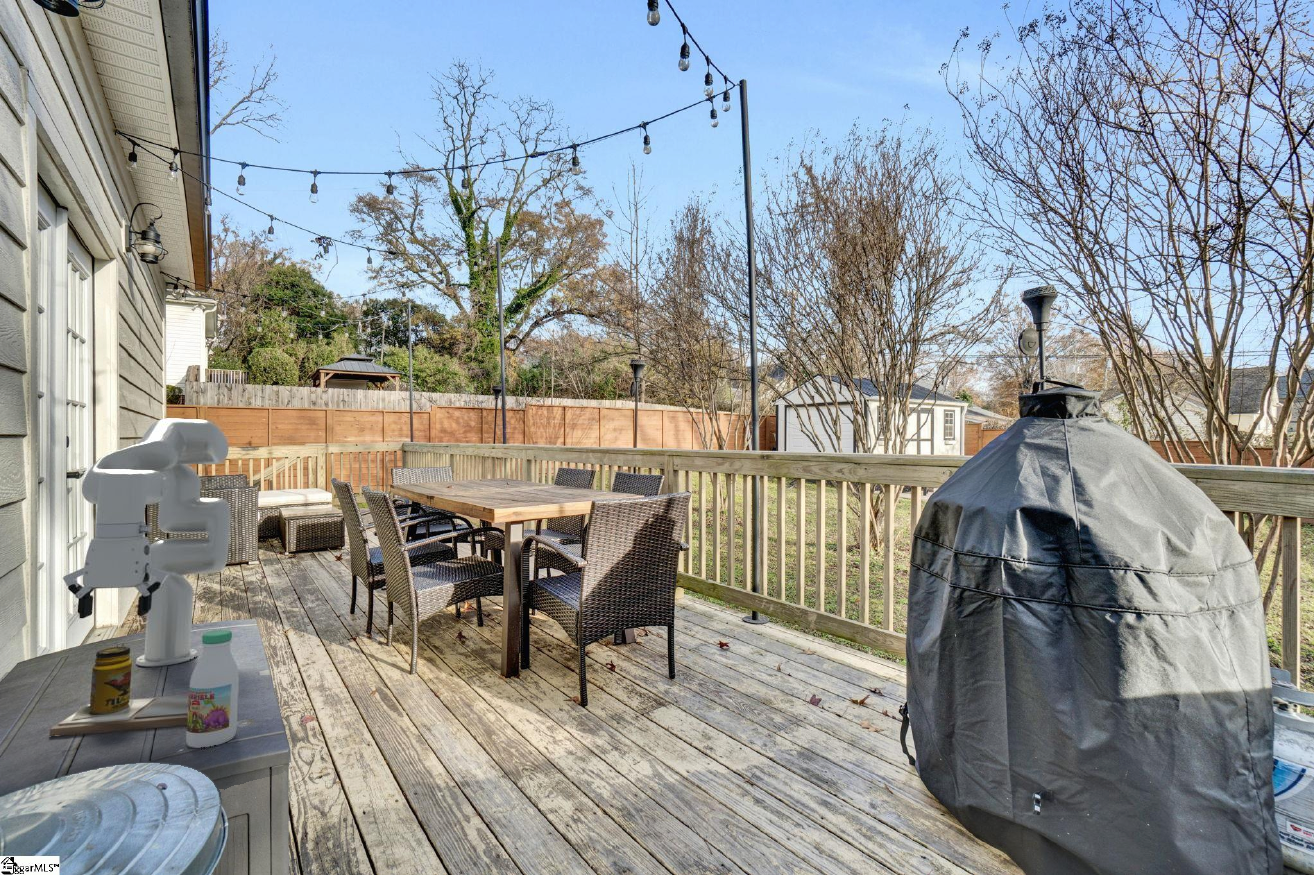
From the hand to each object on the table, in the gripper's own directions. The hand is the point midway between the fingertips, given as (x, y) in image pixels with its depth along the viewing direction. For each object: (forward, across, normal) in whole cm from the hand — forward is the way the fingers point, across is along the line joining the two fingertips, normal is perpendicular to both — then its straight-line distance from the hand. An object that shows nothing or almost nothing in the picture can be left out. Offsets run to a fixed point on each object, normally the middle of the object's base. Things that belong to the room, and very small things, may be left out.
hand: (114, 615), depth 127 cm
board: (+20, -7, +1) cm, 21 cm away
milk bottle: (+20, -24, +17) cm, 36 cm away
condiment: (+19, 0, +1) cm, 19 cm away
